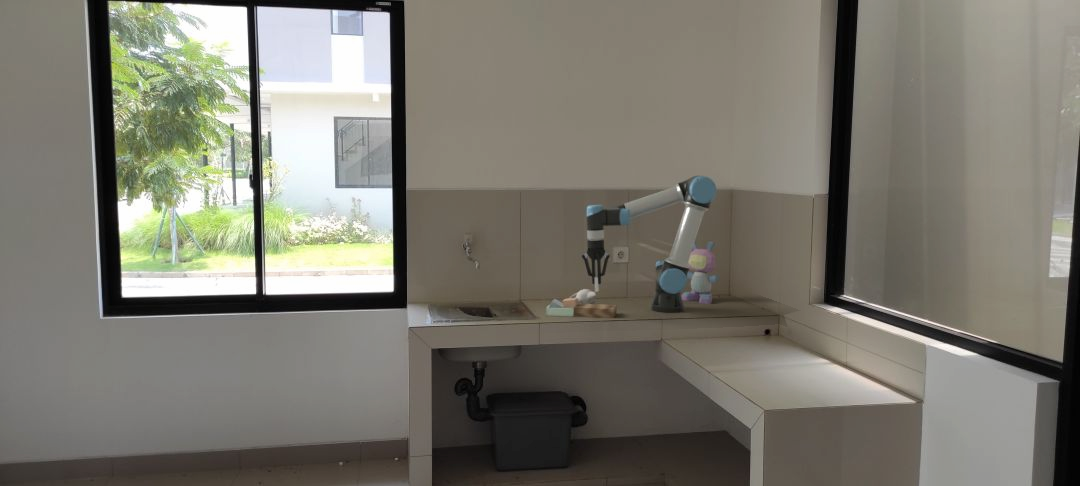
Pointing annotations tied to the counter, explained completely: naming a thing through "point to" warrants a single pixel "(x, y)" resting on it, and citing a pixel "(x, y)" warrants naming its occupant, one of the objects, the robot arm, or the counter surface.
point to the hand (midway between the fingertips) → (596, 291)
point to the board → (595, 310)
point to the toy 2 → (701, 274)
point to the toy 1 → (585, 296)
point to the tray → (560, 311)
